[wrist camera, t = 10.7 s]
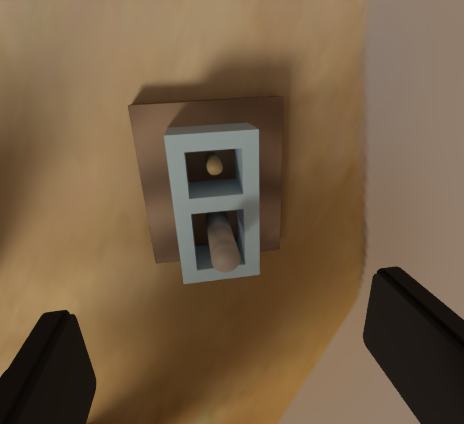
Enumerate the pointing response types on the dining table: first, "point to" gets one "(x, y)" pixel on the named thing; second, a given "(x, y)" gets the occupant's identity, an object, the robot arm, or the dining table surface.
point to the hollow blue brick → (215, 196)
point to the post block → (208, 173)
